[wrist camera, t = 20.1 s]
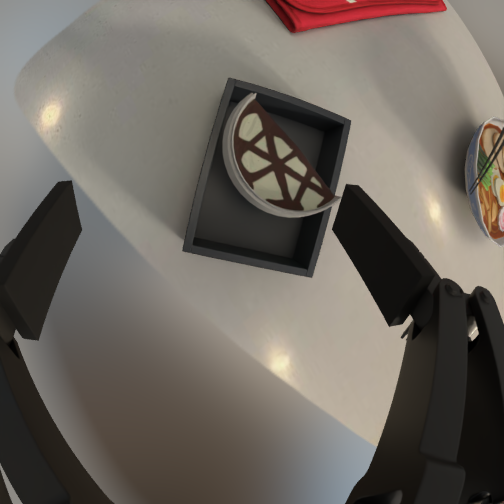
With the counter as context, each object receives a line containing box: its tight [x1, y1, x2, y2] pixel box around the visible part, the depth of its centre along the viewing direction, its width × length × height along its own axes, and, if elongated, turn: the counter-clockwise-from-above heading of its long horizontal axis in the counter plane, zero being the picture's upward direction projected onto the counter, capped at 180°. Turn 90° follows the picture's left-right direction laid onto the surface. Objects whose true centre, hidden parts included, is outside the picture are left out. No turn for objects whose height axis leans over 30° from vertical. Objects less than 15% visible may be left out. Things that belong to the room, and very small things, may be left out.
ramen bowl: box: [465, 116, 504, 247], centre depth 35 cm, size 25×23×8 cm
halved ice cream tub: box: [222, 93, 342, 218], centre depth 26 cm, size 12×6×10 cm, turn 41°
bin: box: [182, 78, 351, 278], centre depth 29 cm, size 14×18×6 cm
